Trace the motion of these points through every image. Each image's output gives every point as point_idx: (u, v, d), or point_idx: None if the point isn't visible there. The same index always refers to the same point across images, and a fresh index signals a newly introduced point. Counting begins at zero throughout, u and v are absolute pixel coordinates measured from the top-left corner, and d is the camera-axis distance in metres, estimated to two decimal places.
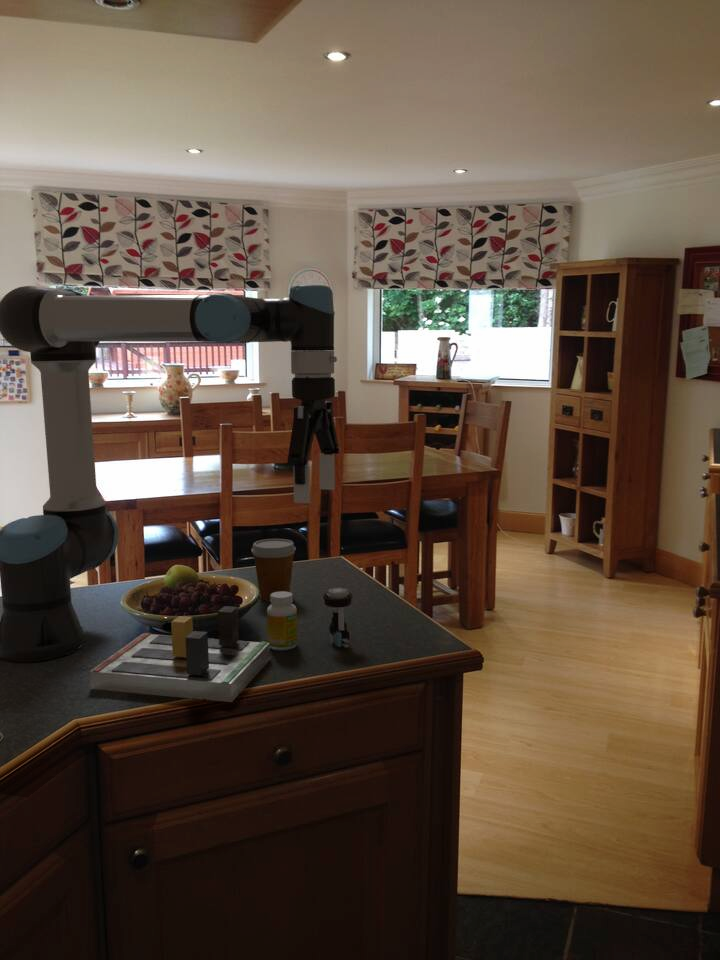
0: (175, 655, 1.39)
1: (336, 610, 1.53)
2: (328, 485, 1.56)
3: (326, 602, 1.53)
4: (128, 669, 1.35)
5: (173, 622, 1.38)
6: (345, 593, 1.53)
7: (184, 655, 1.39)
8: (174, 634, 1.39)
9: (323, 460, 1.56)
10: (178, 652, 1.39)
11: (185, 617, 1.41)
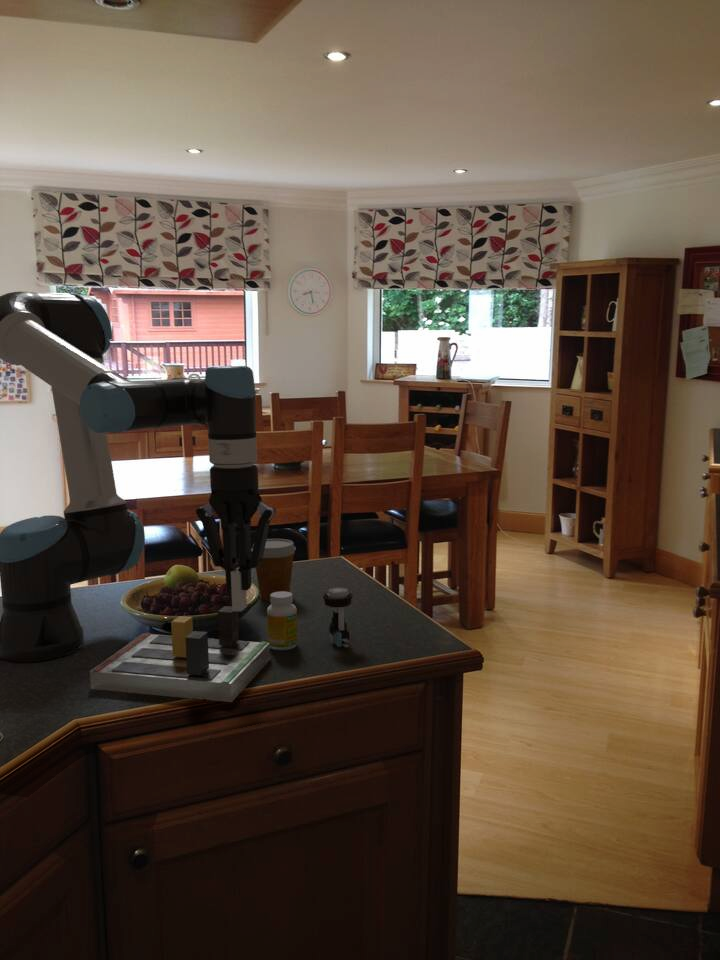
0: (175, 655, 1.39)
1: (336, 610, 1.53)
2: None
3: (326, 602, 1.53)
4: (128, 669, 1.35)
5: (173, 622, 1.38)
6: (345, 593, 1.53)
7: (184, 655, 1.39)
8: (174, 634, 1.39)
9: None
10: (178, 652, 1.39)
11: (185, 617, 1.41)
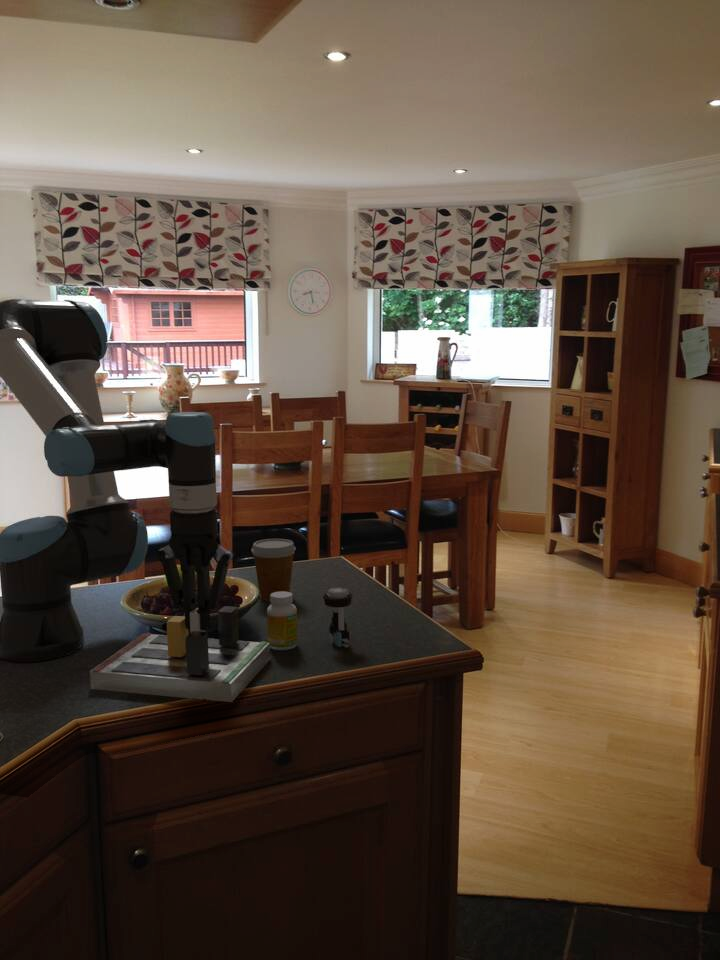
0: (170, 655, 1.39)
1: (336, 610, 1.53)
2: None
3: (326, 602, 1.53)
4: (128, 669, 1.35)
5: (168, 622, 1.39)
6: (345, 593, 1.53)
7: (179, 655, 1.39)
8: (169, 633, 1.39)
9: None
10: (173, 652, 1.39)
11: (180, 617, 1.41)
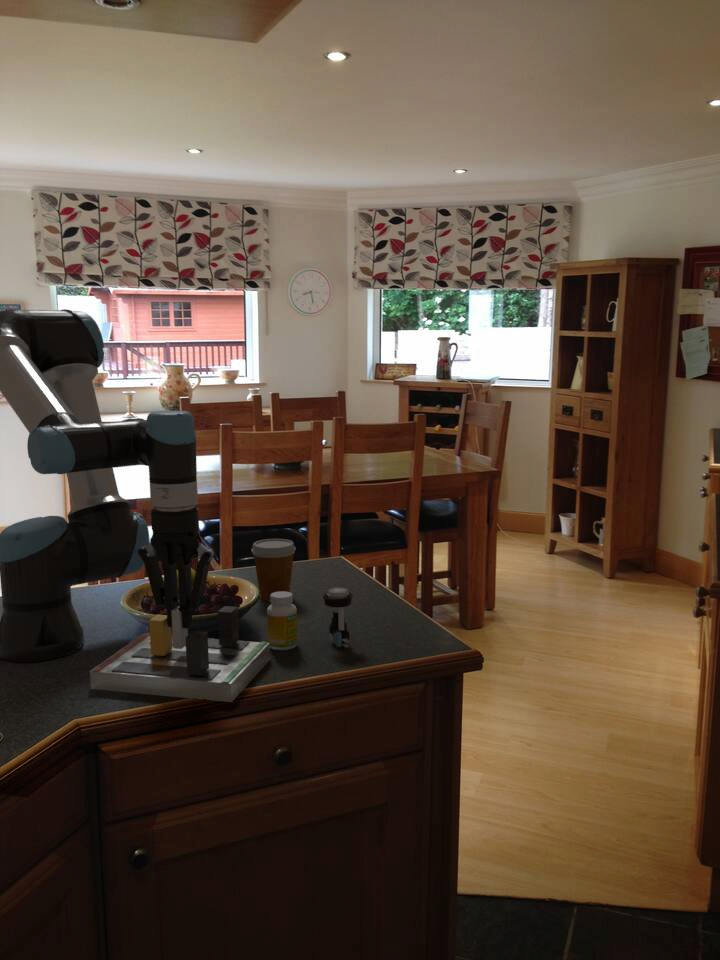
0: (153, 653, 1.40)
1: (336, 610, 1.53)
2: None
3: (326, 602, 1.53)
4: (128, 669, 1.35)
5: (151, 620, 1.39)
6: (345, 593, 1.53)
7: (162, 653, 1.40)
8: (152, 632, 1.40)
9: None
10: (156, 650, 1.40)
11: (163, 615, 1.41)
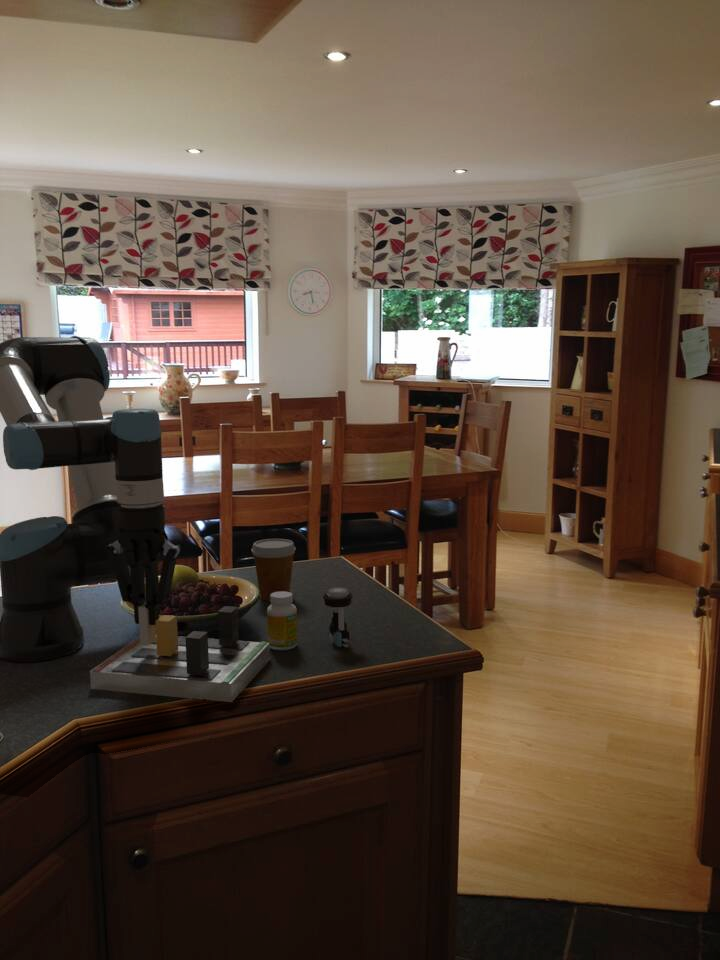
0: (159, 654, 1.40)
1: (336, 610, 1.53)
2: None
3: (326, 602, 1.53)
4: (128, 669, 1.35)
5: (157, 621, 1.39)
6: (345, 593, 1.53)
7: (168, 654, 1.40)
8: (158, 632, 1.39)
9: None
10: (162, 651, 1.40)
11: (169, 616, 1.41)
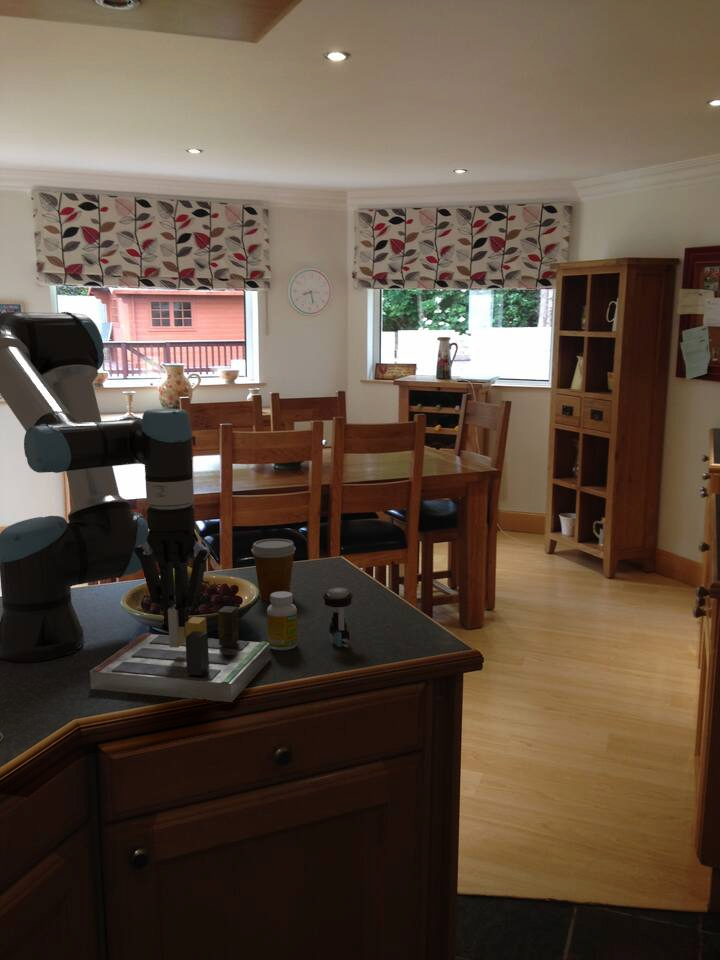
0: None
1: (336, 610, 1.53)
2: None
3: (326, 602, 1.53)
4: (128, 669, 1.35)
5: (187, 623, 1.38)
6: (345, 593, 1.53)
7: None
8: None
9: None
10: None
11: (199, 618, 1.40)
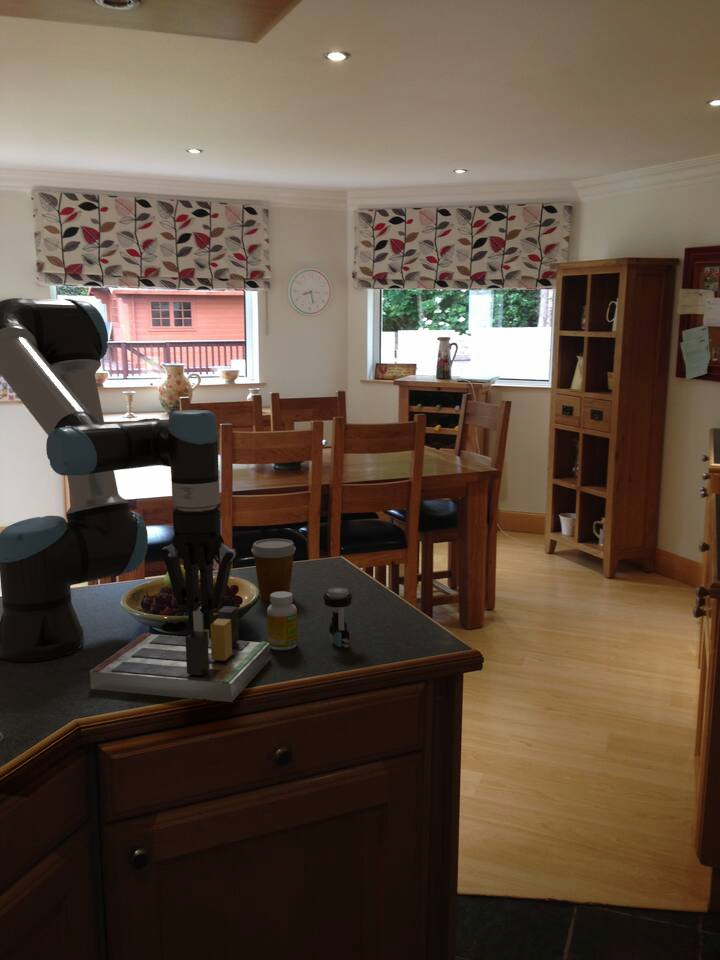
0: (214, 658, 1.38)
1: (336, 610, 1.53)
2: None
3: (326, 602, 1.53)
4: (128, 669, 1.35)
5: (212, 625, 1.37)
6: (345, 593, 1.53)
7: (223, 658, 1.37)
8: (213, 637, 1.37)
9: None
10: (217, 655, 1.38)
11: (224, 620, 1.39)
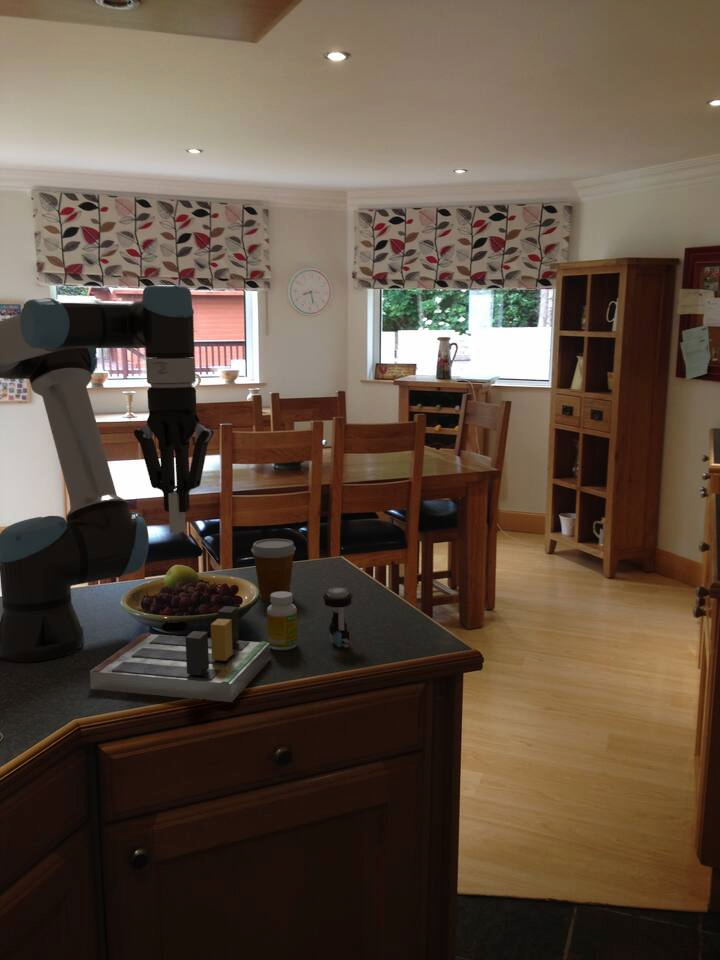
0: (214, 658, 1.38)
1: (336, 610, 1.53)
2: None
3: (326, 602, 1.53)
4: (128, 669, 1.35)
5: (213, 625, 1.37)
6: (345, 593, 1.53)
7: (224, 658, 1.37)
8: (213, 637, 1.37)
9: None
10: (217, 655, 1.38)
11: (224, 620, 1.39)
